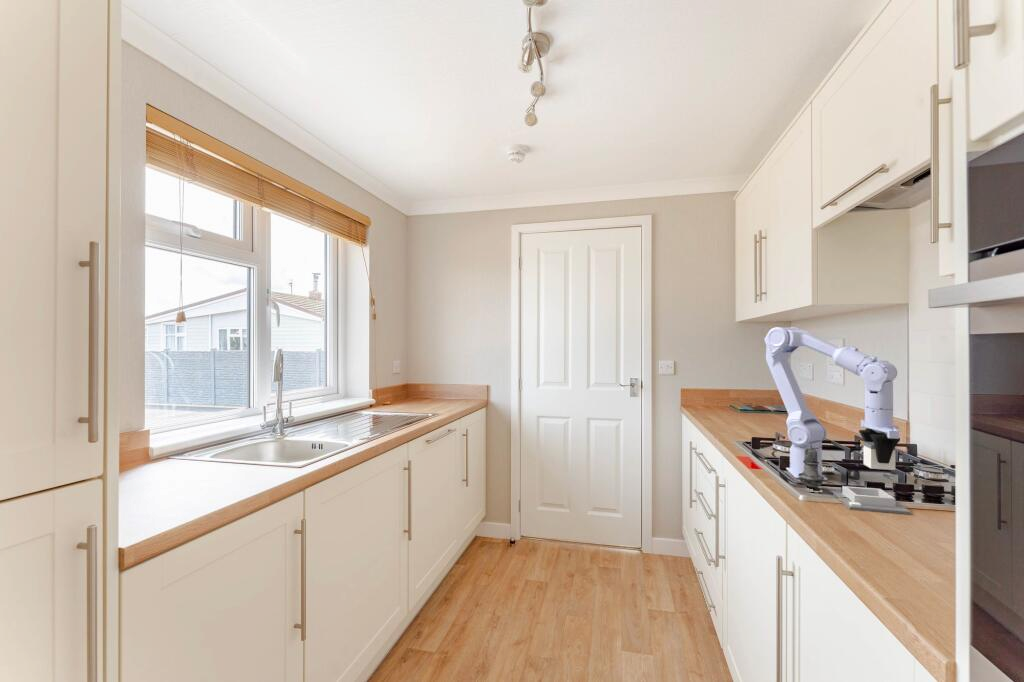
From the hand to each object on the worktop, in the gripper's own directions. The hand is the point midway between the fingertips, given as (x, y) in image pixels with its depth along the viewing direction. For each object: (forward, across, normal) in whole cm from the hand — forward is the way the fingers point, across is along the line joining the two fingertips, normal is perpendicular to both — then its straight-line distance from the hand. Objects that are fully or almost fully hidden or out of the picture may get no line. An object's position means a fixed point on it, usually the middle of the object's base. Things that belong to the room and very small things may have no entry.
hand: (878, 460), depth 117 cm
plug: (+2, 0, 0) cm, 2 cm away
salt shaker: (+9, -1, +16) cm, 18 cm away
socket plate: (+9, -8, +6) cm, 13 cm away
